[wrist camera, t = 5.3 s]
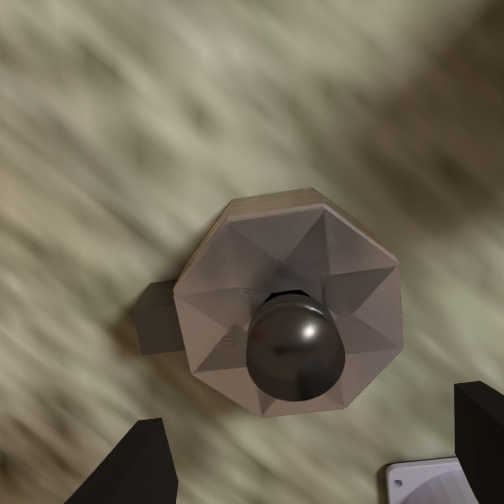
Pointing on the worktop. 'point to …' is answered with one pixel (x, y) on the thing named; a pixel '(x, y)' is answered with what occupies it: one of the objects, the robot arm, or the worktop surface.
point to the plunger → (294, 348)
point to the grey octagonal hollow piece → (277, 280)
